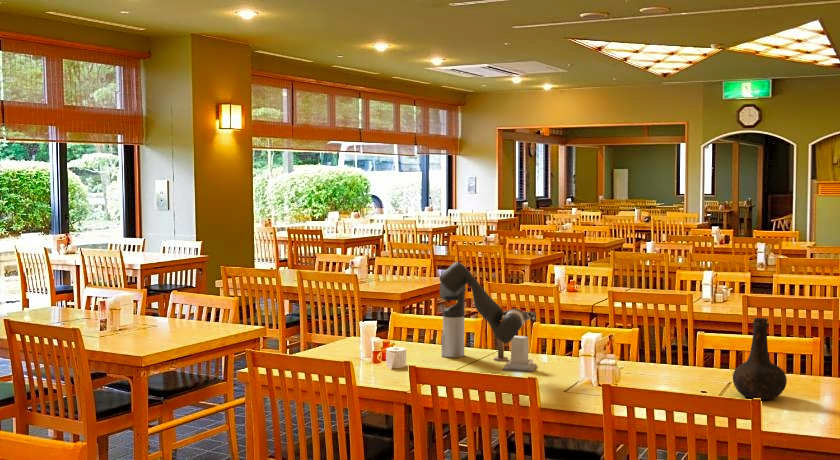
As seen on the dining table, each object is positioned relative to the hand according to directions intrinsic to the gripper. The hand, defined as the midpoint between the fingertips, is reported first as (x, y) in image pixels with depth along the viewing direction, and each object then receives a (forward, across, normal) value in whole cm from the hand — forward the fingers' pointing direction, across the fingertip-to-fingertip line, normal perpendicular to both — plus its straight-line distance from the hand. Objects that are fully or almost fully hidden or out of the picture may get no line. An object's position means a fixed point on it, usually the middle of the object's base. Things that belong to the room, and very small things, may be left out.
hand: (519, 312), depth 357 cm
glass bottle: (-23, -87, +23) cm, 93 cm away
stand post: (+19, +10, +24) cm, 32 cm away
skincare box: (+4, 0, +23) cm, 23 cm away
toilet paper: (-5, +50, +24) cm, 56 cm away
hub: (+5, 0, +23) cm, 24 cm away
